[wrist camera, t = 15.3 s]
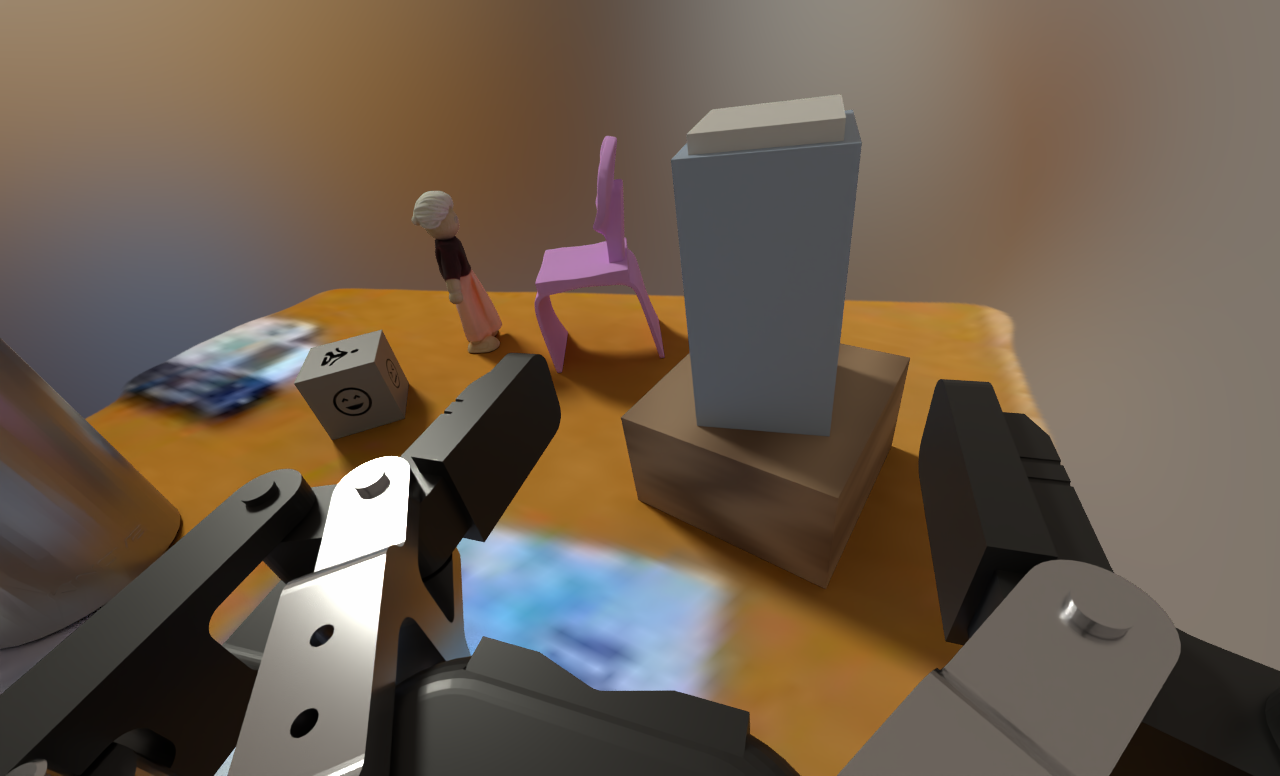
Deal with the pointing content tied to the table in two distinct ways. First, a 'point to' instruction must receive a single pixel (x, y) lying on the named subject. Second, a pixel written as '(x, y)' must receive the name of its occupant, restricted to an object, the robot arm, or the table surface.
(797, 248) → the slate-blue canister
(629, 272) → the toy chair
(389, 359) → the dice cube
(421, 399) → the table surface
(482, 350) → the grandmother figurine
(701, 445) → the walnut block
